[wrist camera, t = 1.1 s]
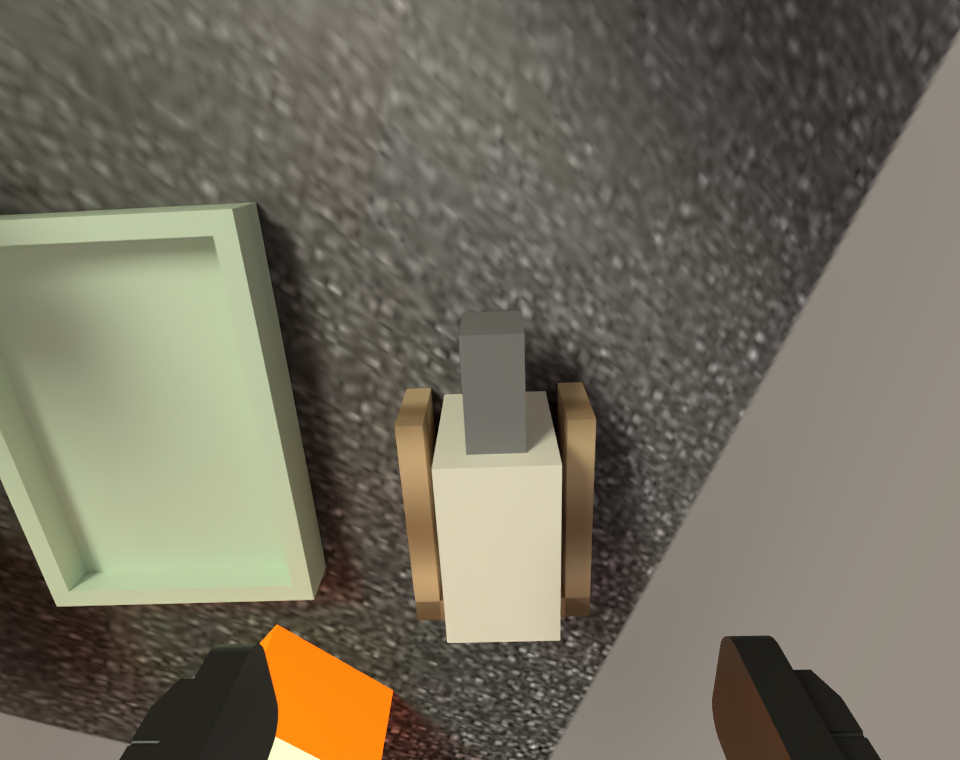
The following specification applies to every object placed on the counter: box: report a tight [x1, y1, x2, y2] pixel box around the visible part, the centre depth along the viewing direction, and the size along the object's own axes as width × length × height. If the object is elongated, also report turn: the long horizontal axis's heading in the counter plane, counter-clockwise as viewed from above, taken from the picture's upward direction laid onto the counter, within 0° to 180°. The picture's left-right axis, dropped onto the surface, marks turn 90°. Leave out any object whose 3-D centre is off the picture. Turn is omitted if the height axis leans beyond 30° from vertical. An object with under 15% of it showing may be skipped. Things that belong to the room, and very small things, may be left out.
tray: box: [0, 202, 326, 607], centre depth 28 cm, size 20×14×2 cm
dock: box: [395, 382, 596, 620], centre depth 28 cm, size 11×9×4 cm
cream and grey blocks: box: [432, 311, 562, 643], centre depth 26 cm, size 14×5×7 cm, turn 3°
